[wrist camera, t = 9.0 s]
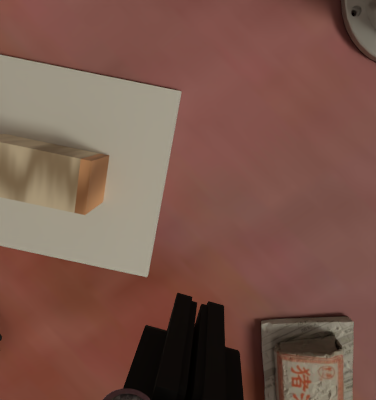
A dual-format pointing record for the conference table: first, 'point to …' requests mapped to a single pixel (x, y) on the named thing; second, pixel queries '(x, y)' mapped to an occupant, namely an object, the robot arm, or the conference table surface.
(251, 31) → the conference table surface
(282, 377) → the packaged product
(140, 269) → the mat
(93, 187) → the maple block
